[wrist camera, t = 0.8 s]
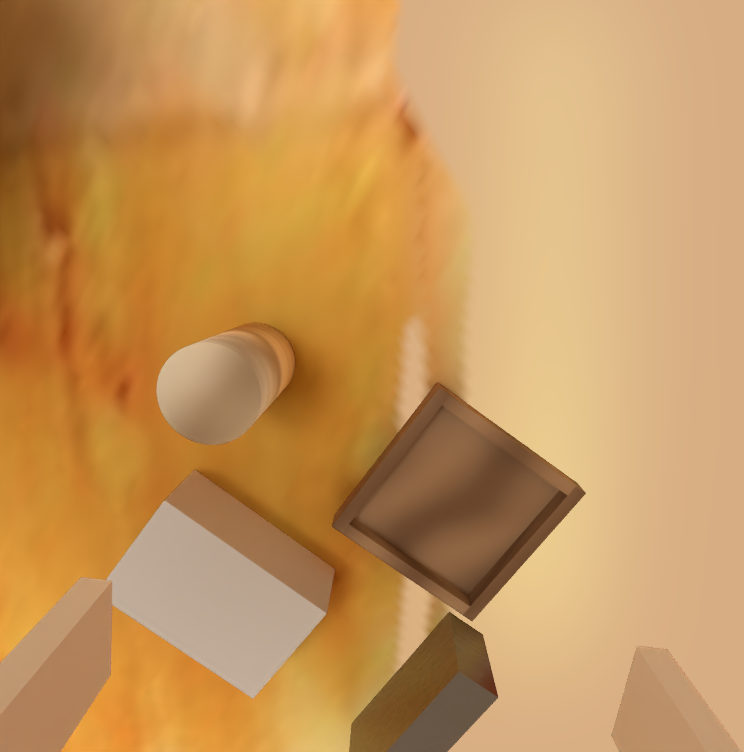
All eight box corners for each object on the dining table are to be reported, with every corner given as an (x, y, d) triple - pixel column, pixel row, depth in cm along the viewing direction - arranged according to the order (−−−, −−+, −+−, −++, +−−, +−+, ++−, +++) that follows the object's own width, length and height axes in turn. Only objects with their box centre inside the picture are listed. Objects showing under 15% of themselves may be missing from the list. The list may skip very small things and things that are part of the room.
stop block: (351, 723, 39) (345, 797, 33) (449, 611, 36) (459, 671, 31) (383, 744, 39) (382, 820, 34) (482, 634, 37) (498, 697, 31)
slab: (135, 550, 37) (95, 593, 32) (195, 468, 35) (164, 500, 30) (271, 643, 38) (253, 698, 33) (335, 567, 36) (326, 613, 32)
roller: (204, 369, 34) (137, 405, 25) (245, 307, 33) (191, 321, 24) (268, 413, 34) (224, 464, 25) (310, 353, 33) (280, 384, 24)
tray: (334, 515, 35) (331, 526, 34) (437, 382, 33) (439, 387, 31) (468, 605, 36) (472, 621, 35) (577, 482, 34) (585, 493, 33)
